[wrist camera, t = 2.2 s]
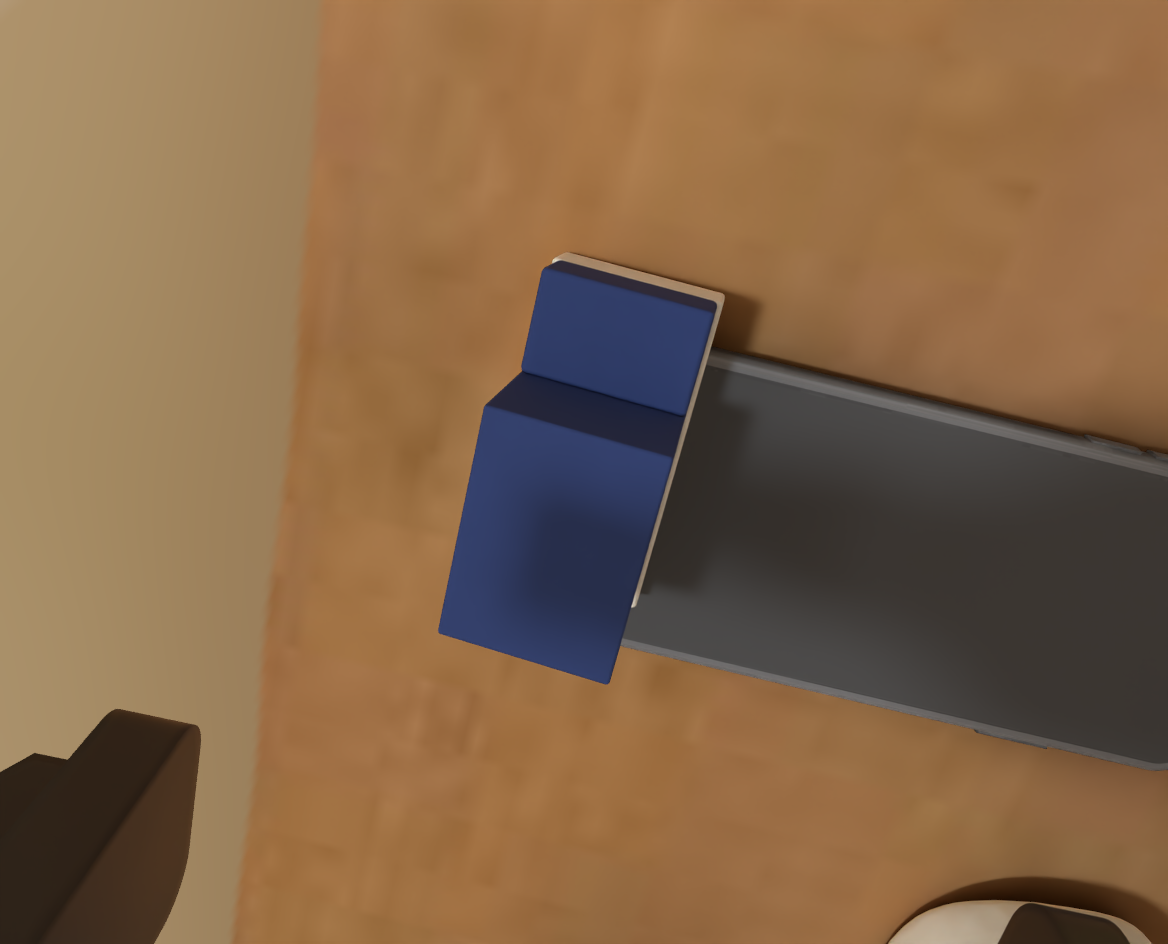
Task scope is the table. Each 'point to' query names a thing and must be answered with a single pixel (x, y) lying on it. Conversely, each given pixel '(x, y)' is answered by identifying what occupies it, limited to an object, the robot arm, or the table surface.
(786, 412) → the smartphone
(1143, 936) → the sneaker
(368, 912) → the table surface
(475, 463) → the blue stepped block
